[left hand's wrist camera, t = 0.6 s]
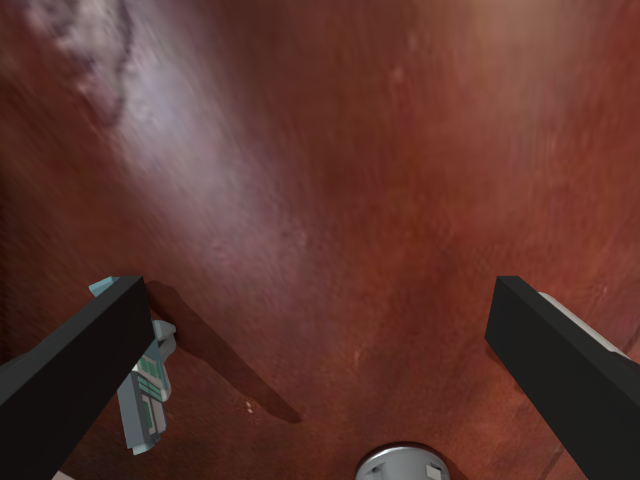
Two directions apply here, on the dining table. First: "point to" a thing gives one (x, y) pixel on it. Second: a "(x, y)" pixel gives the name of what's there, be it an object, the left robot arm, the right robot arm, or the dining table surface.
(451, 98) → the dining table surface
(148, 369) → the toy gun
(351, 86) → the dining table surface
